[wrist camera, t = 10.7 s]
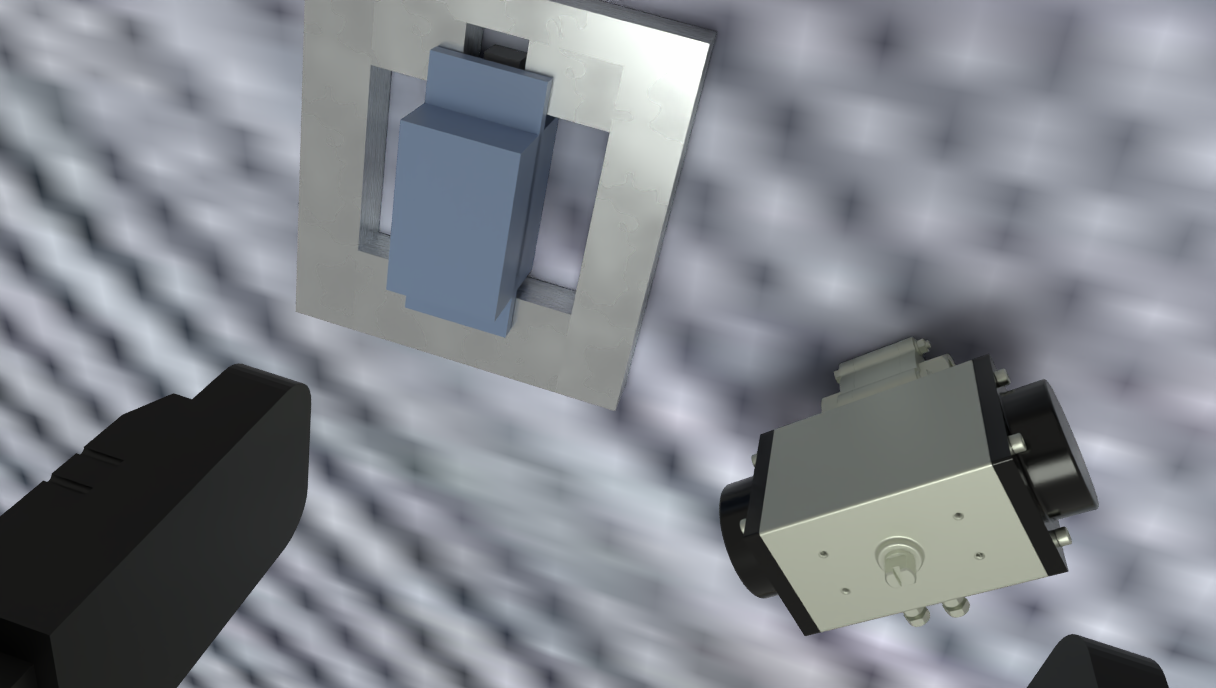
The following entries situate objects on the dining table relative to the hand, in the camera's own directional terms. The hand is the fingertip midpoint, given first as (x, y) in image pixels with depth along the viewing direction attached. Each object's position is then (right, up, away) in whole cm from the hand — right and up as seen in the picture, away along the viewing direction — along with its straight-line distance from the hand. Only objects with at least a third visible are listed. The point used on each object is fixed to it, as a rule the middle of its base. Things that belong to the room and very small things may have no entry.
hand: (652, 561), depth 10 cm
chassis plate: (-5, +9, +29) cm, 31 cm away
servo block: (-5, +9, +29) cm, 31 cm away
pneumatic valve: (+12, +1, +30) cm, 32 cm away
